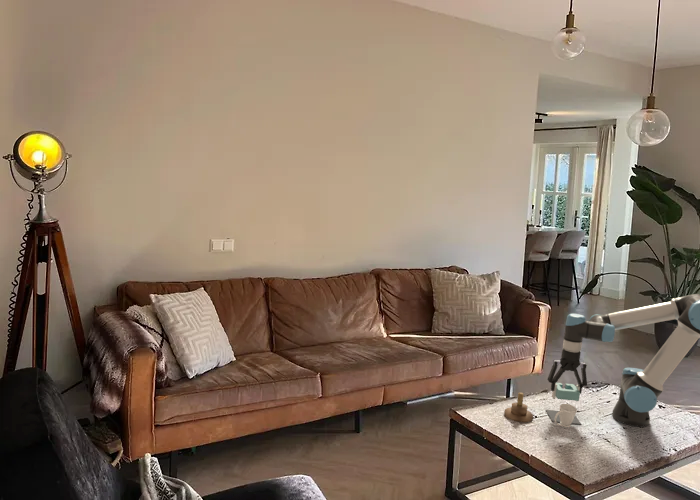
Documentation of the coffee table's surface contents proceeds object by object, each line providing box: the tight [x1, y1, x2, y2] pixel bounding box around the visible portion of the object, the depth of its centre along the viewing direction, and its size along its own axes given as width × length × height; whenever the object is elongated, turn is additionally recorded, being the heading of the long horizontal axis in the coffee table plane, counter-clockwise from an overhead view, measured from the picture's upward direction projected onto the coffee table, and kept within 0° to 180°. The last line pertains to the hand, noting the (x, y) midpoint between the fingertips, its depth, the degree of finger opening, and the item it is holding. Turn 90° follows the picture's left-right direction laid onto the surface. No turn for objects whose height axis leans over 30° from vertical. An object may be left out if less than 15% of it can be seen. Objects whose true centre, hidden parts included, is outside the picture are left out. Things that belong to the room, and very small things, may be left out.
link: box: [551, 382, 581, 402], centre depth 257 cm, size 9×9×4 cm
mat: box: [545, 409, 582, 426], centre depth 258 cm, size 12×12×1 cm
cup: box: [554, 403, 578, 428], centre depth 249 cm, size 7×10×8 cm
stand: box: [503, 392, 534, 423], centre depth 256 cm, size 12×12×10 cm
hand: (564, 398), depth 257 cm, fingers closed on link, 9 cm apart
